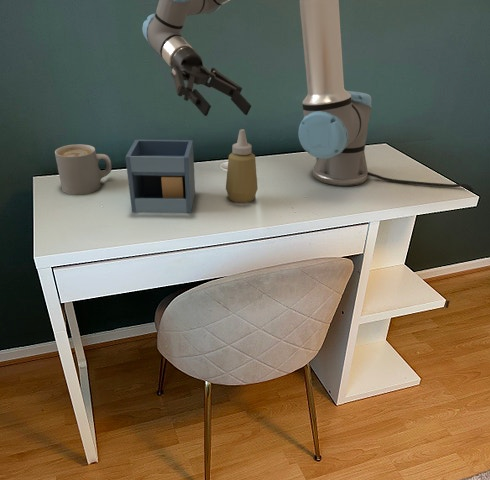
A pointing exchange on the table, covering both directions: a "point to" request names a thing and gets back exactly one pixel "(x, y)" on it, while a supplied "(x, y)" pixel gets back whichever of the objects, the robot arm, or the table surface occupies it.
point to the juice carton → (173, 186)
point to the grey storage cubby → (159, 174)
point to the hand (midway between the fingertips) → (228, 110)
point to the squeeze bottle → (241, 171)
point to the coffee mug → (80, 168)
